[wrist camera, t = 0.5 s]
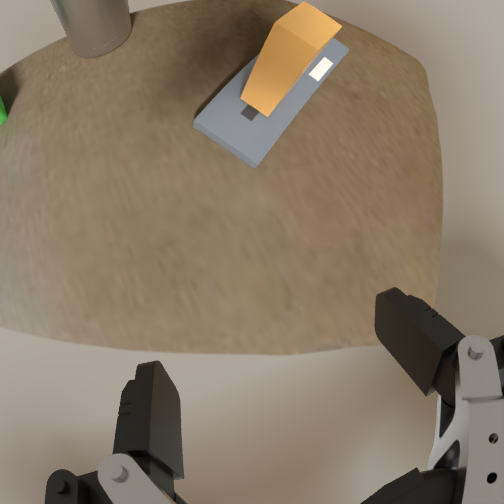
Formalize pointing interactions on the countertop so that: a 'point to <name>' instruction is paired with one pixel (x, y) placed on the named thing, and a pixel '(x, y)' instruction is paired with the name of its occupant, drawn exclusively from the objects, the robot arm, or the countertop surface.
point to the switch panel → (254, 122)
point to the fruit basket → (2, 111)
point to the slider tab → (287, 55)
